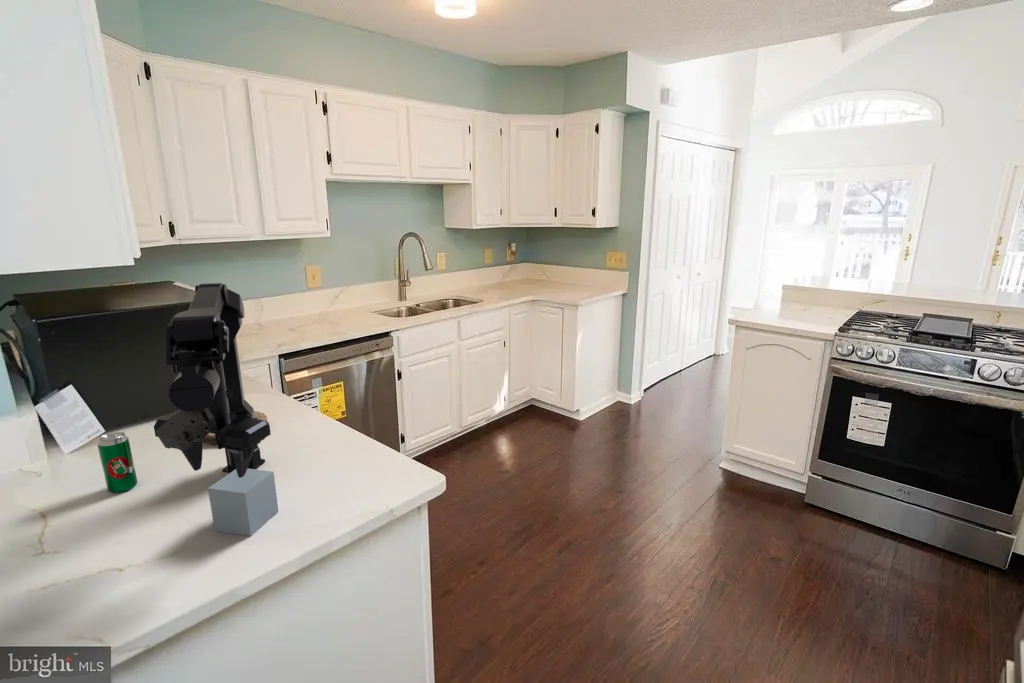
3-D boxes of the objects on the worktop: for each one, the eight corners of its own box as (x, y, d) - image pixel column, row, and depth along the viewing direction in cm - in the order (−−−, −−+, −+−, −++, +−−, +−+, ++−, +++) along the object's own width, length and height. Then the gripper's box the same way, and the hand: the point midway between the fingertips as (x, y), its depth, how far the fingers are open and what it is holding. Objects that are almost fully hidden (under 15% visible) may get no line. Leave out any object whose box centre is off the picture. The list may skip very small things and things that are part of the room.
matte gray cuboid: (214, 530, 92) (207, 488, 90) (244, 506, 99) (238, 467, 97) (251, 536, 91) (245, 493, 88) (278, 511, 98) (273, 471, 96)
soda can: (118, 482, 108) (107, 431, 105) (143, 481, 108) (133, 430, 105) (102, 495, 103) (90, 442, 100) (128, 494, 103) (116, 441, 100)
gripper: (114, 401, 77) (133, 490, 81) (214, 413, 73) (229, 506, 77) (176, 378, 88) (190, 458, 92) (267, 388, 84) (277, 471, 88)
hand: (219, 473), depth 87 cm, fingers open, 9 cm apart
